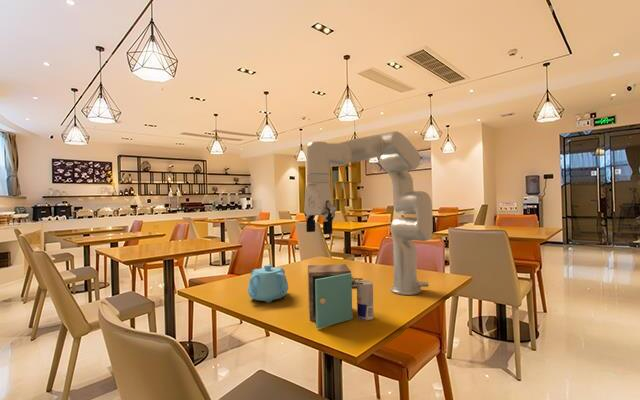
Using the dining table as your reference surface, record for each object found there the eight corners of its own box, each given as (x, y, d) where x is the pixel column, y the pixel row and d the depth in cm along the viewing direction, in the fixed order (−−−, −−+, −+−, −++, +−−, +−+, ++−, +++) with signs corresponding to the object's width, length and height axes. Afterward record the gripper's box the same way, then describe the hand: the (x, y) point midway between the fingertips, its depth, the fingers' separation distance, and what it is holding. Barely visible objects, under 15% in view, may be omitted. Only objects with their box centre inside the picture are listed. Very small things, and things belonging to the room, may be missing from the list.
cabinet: (346, 307, 122) (345, 264, 122) (351, 318, 110) (350, 271, 110) (308, 308, 121) (307, 265, 121) (309, 320, 109) (308, 272, 109)
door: (350, 317, 109) (349, 272, 109) (354, 319, 108) (353, 274, 107) (316, 327, 102) (315, 279, 102) (320, 330, 100) (319, 280, 100)
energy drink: (356, 315, 113) (355, 280, 113) (371, 314, 113) (370, 280, 113) (359, 321, 107) (358, 285, 107) (375, 320, 108) (374, 284, 108)
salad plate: (357, 278, 165) (357, 269, 165) (370, 287, 148) (370, 277, 148) (319, 281, 161) (319, 272, 161) (329, 291, 143) (329, 281, 143)
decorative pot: (251, 293, 142) (250, 261, 142) (288, 291, 143) (288, 260, 143) (245, 305, 126) (244, 270, 126) (287, 303, 127) (286, 268, 127)
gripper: (295, 181, 112) (295, 231, 112) (324, 178, 98) (324, 236, 98) (313, 182, 116) (314, 230, 116) (344, 179, 102) (344, 234, 102)
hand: (319, 232), depth 107 cm, fingers open, 9 cm apart
